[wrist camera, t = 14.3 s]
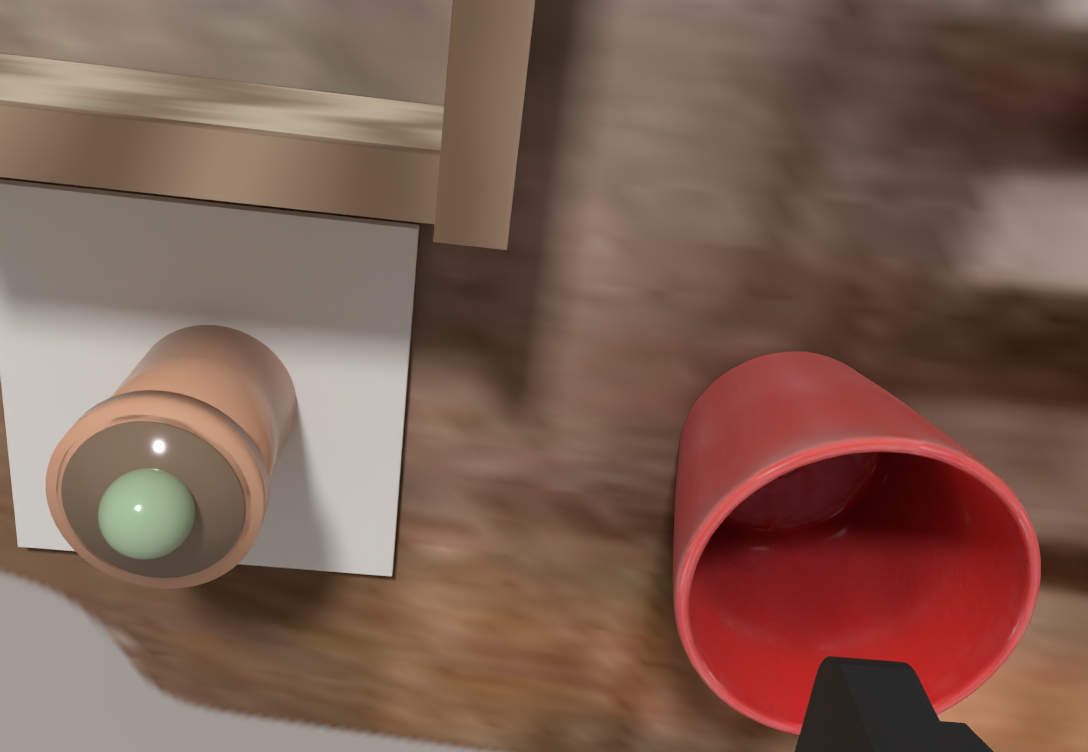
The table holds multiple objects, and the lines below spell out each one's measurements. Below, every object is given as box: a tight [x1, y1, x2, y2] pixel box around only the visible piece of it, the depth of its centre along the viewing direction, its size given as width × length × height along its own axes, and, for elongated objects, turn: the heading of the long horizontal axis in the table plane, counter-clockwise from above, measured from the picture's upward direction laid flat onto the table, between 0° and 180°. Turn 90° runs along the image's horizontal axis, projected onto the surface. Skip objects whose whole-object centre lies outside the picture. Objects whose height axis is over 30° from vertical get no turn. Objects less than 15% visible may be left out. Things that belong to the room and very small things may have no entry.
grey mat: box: [0, 179, 419, 576], centre depth 37 cm, size 14×14×1 cm
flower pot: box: [673, 351, 1041, 735], centre depth 34 cm, size 11×11×10 cm
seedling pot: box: [45, 325, 296, 589], centre depth 32 cm, size 6×6×9 cm
